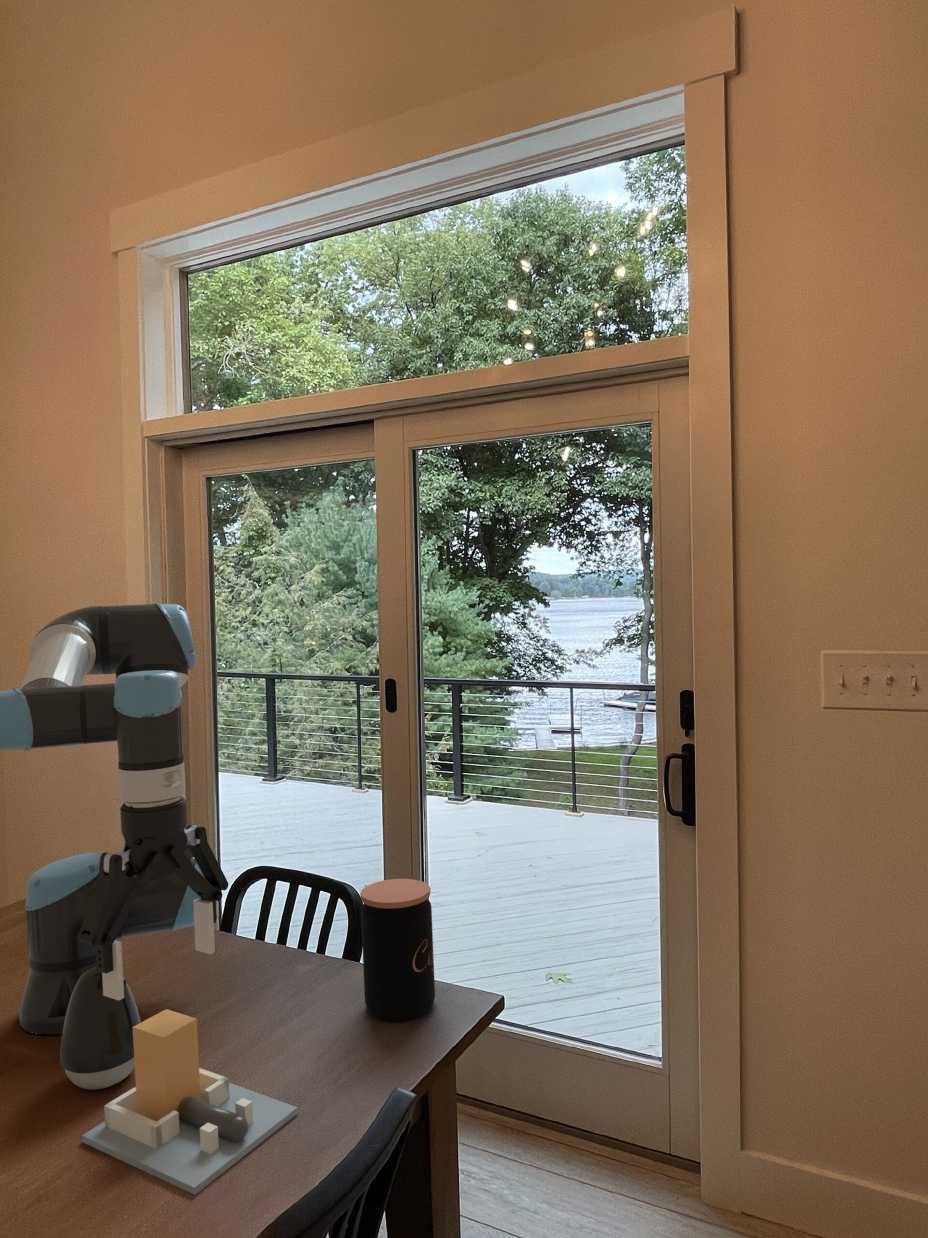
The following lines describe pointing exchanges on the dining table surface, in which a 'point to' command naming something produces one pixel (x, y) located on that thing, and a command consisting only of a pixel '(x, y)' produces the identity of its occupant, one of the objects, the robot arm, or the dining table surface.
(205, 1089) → the board
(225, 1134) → the plug
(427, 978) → the coffee jar
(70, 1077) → the dark grey egg shape
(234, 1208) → the dining table surface
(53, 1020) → the robot arm
